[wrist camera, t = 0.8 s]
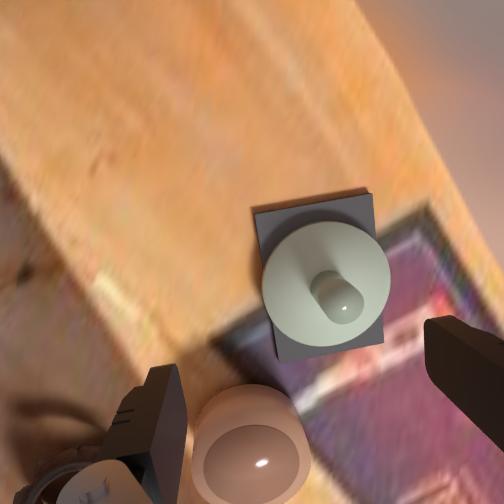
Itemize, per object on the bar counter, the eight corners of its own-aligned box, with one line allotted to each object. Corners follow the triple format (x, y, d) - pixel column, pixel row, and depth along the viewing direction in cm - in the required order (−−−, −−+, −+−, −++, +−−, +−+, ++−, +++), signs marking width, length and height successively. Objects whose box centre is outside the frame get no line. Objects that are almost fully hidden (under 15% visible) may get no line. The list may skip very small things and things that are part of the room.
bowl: (185, 388, 32) (179, 429, 27) (290, 367, 33) (303, 403, 27) (206, 474, 34) (204, 526, 29) (303, 453, 35) (317, 501, 30)
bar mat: (254, 213, 29) (254, 214, 28) (369, 193, 29) (372, 193, 29) (278, 360, 32) (279, 363, 32) (381, 339, 33) (384, 342, 32)
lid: (252, 233, 29) (258, 247, 24) (379, 210, 29) (412, 218, 24) (271, 350, 31) (281, 385, 26) (388, 327, 32) (419, 356, 27)
